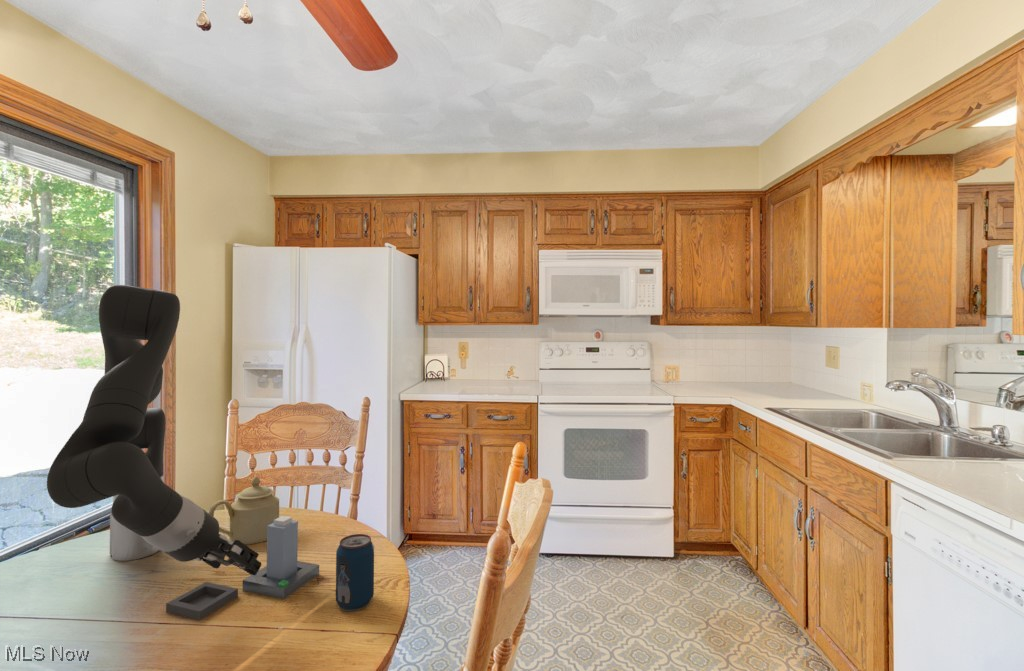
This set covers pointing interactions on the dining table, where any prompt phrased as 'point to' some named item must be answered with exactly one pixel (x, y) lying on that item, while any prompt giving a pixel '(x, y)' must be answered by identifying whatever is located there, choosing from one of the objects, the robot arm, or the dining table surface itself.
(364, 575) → the soda can
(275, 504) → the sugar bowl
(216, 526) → the robot arm
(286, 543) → the plug
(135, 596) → the dining table surface
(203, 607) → the holster
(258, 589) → the port
